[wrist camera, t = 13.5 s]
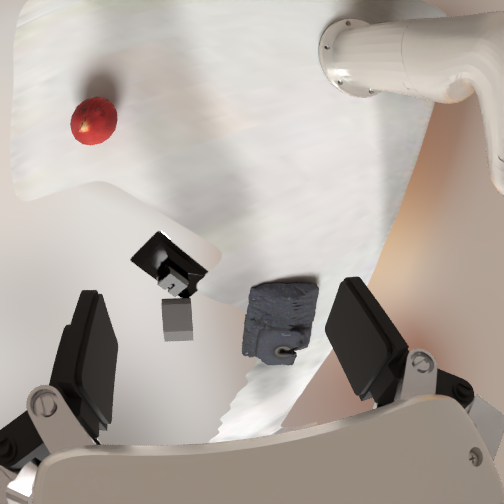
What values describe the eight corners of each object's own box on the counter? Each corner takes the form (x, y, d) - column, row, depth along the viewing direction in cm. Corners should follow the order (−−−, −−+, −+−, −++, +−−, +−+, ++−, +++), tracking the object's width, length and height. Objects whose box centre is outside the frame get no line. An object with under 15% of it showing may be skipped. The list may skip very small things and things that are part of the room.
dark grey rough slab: (326, 274, 54) (337, 289, 51) (304, 348, 66) (311, 364, 62) (247, 281, 51) (253, 298, 47) (240, 358, 62) (244, 375, 59)
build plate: (129, 259, 43) (126, 276, 40) (159, 228, 42) (158, 244, 38) (185, 299, 50) (186, 317, 46) (215, 274, 49) (219, 292, 45)
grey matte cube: (190, 297, 49) (192, 316, 46) (191, 322, 53) (193, 340, 49) (161, 298, 48) (161, 317, 44) (164, 323, 51) (164, 342, 48)
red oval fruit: (79, 101, 29) (56, 106, 22) (120, 91, 30) (105, 93, 23) (84, 142, 32) (63, 157, 25) (124, 134, 33) (111, 146, 26)
